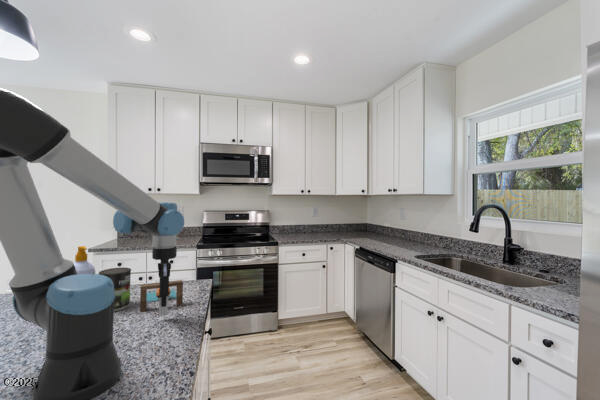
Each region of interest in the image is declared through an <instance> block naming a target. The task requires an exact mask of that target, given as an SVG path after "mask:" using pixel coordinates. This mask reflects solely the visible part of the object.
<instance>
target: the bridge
mask: <svg viewBox="0 0 600 400" xmlns="http://www.w3.org/2000/svg"><path fill="white" fill-rule="evenodd" d="M170 287H176V298H175V299H176V300H175V301H176V302H175V304H176V306H177V307H179V306H183V299H184V298H183V296H184V293H183V292H184V281H183V279H180V280H169V288H170ZM158 288H160V282H153V283H146V284H145V283H144V284H140V295H139V296H140V297H139V298H140V299H139V301H140V302H139V312H140V313H141V311H142V312H147V302H146V301H147V293H148V290H152V289H158Z"/></svg>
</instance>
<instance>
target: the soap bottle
mask: <svg viewBox="0 0 600 400" xmlns="http://www.w3.org/2000/svg"><path fill="white" fill-rule="evenodd" d="M86 250H87V247H86V245H85V246H84V245H81V246H79V245H78V246H77V252H76V254H75V257H74V258H75V259H74V262H73V263H74V266H75V268H76V271H77V274H92V275H94V274H96V269H95V266H94V265H93V263H91V262H90V261H88V253H87V252H86Z"/></svg>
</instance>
